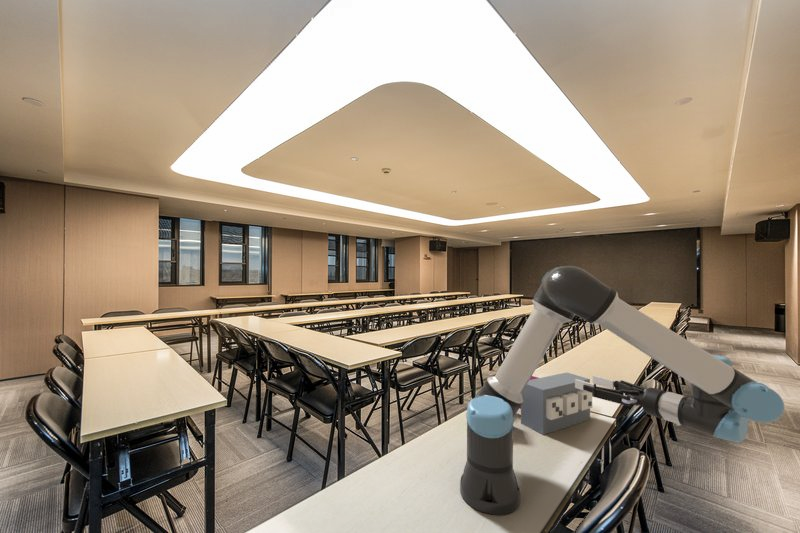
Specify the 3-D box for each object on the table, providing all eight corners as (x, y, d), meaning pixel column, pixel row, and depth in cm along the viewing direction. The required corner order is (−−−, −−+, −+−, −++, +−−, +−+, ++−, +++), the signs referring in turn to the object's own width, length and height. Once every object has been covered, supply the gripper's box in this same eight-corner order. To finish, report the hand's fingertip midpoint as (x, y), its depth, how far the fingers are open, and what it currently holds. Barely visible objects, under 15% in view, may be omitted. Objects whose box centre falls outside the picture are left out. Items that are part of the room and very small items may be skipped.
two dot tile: (582, 411, 124) (582, 393, 124) (574, 407, 127) (574, 390, 127) (593, 407, 127) (593, 390, 127) (585, 404, 130) (584, 388, 130)
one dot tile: (567, 415, 120) (567, 397, 120) (559, 412, 123) (559, 394, 123) (578, 412, 123) (578, 394, 123) (570, 408, 126) (570, 391, 126)
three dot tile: (551, 420, 115) (551, 401, 116) (543, 416, 118) (543, 398, 119) (563, 416, 119) (563, 398, 119) (555, 413, 121) (555, 395, 122)
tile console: (543, 434, 117) (543, 390, 117) (520, 423, 125) (520, 381, 126) (590, 419, 130) (589, 379, 130) (567, 410, 139) (566, 372, 139)
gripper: (644, 427, 83) (564, 398, 103) (683, 411, 94) (603, 387, 114) (643, 398, 84) (563, 374, 104) (683, 385, 94) (603, 365, 114)
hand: (584, 381), depth 109 cm, fingers open, 9 cm apart
